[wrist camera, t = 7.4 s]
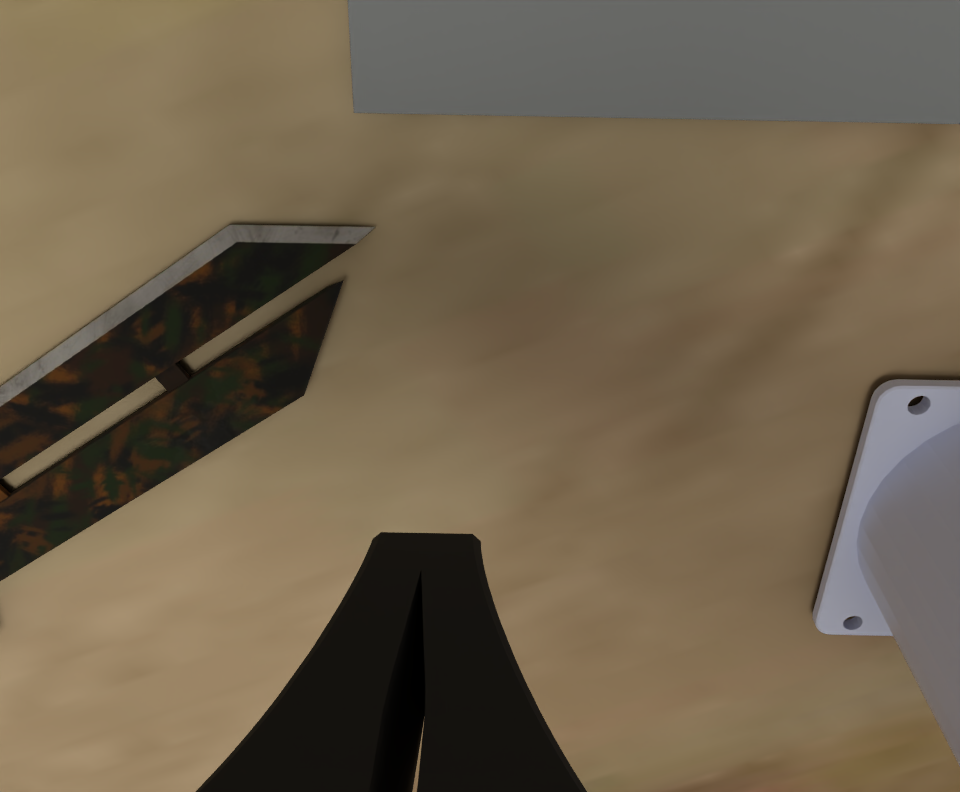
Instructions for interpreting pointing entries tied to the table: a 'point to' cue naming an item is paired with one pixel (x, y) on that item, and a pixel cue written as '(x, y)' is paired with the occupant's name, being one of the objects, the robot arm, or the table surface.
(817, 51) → the mat
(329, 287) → the dark ornate flat tool
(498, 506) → the table surface
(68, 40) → the table surface
